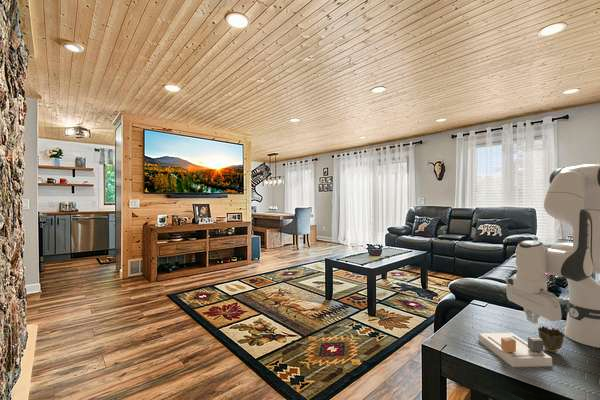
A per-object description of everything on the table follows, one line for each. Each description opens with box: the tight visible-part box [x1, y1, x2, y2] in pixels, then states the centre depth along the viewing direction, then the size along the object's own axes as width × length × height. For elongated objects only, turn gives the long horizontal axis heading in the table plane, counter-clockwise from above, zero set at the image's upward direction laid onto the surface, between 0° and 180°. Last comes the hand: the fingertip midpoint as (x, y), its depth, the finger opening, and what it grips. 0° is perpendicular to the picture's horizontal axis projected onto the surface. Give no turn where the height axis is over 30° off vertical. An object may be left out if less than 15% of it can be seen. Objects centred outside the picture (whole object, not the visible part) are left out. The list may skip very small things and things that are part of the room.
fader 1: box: [501, 338, 516, 352], centre depth 102 cm, size 4×2×4 cm, turn 91°
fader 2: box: [527, 336, 544, 352], centre depth 103 cm, size 4×2×4 cm, turn 92°
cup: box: [537, 325, 565, 354], centre depth 107 cm, size 8×7×8 cm
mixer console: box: [478, 332, 553, 368], centre depth 107 cm, size 14×18×3 cm
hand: (532, 321), depth 105 cm, fingers closed
